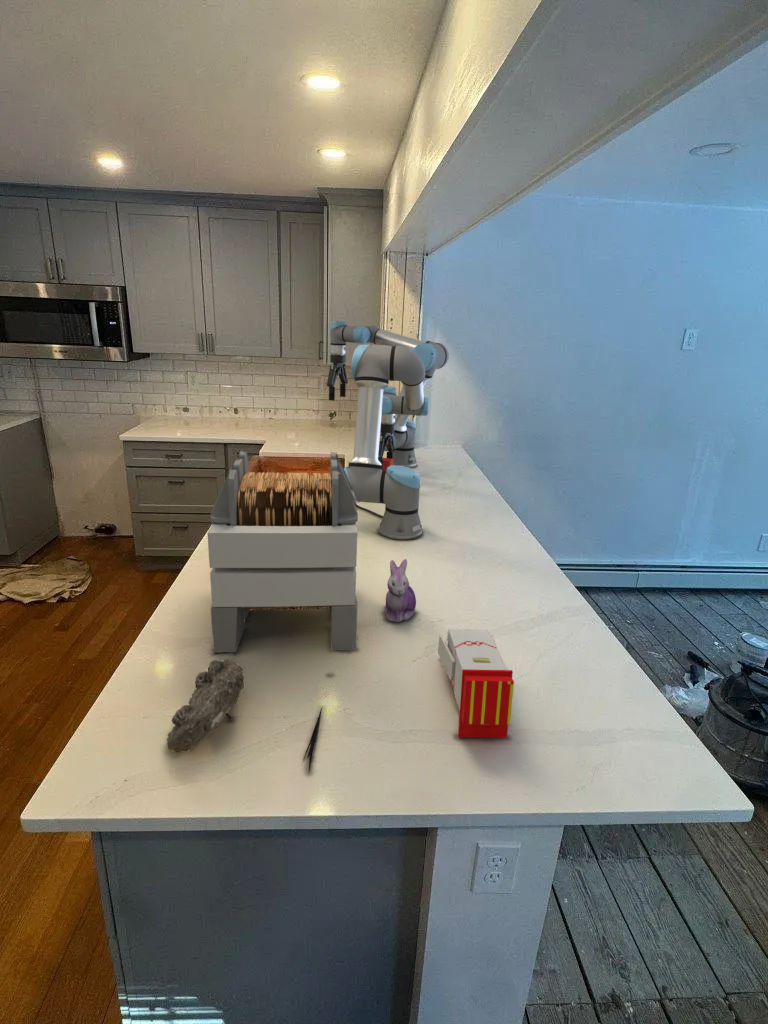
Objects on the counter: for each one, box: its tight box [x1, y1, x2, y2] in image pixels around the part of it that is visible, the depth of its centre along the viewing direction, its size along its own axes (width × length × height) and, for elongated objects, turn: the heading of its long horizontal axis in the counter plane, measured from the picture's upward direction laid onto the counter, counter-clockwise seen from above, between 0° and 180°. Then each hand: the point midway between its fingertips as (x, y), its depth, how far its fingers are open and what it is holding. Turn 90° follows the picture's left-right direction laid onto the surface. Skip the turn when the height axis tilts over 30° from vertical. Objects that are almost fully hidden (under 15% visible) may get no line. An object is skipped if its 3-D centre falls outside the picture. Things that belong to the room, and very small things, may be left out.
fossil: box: [166, 658, 245, 754], centre depth 106 cm, size 22×10×15 cm
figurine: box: [384, 558, 417, 623], centre depth 145 cm, size 9×10×15 cm
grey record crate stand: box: [206, 450, 359, 654], centre depth 137 cm, size 34×33×41 cm
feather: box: [301, 673, 332, 771], centre depth 108 cm, size 2×28×2 cm
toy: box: [437, 628, 515, 738], centre depth 117 cm, size 12×13×30 cm
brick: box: [382, 457, 394, 470], centre depth 254 cm, size 5×7×12 cm
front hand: (384, 469), depth 254 cm, fingers open, 13 cm apart
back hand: (337, 398), depth 281 cm, fingers open, 13 cm apart
